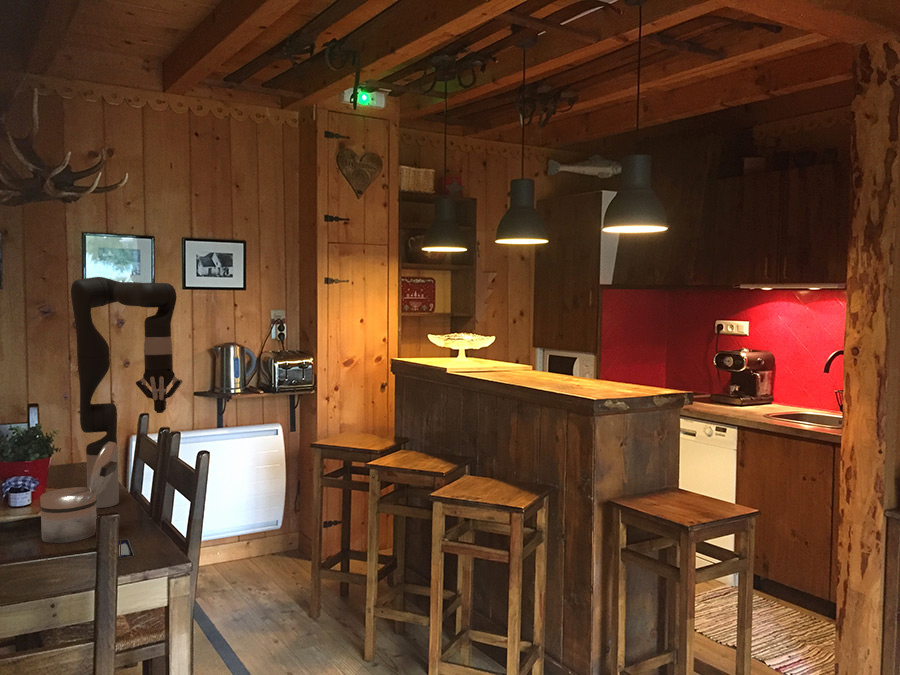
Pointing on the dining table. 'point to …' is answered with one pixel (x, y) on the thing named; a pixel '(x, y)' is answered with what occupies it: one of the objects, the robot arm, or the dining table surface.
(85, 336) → the robot arm
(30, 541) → the dining table surface
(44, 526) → the pot
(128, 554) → the smartphone
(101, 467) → the lid
